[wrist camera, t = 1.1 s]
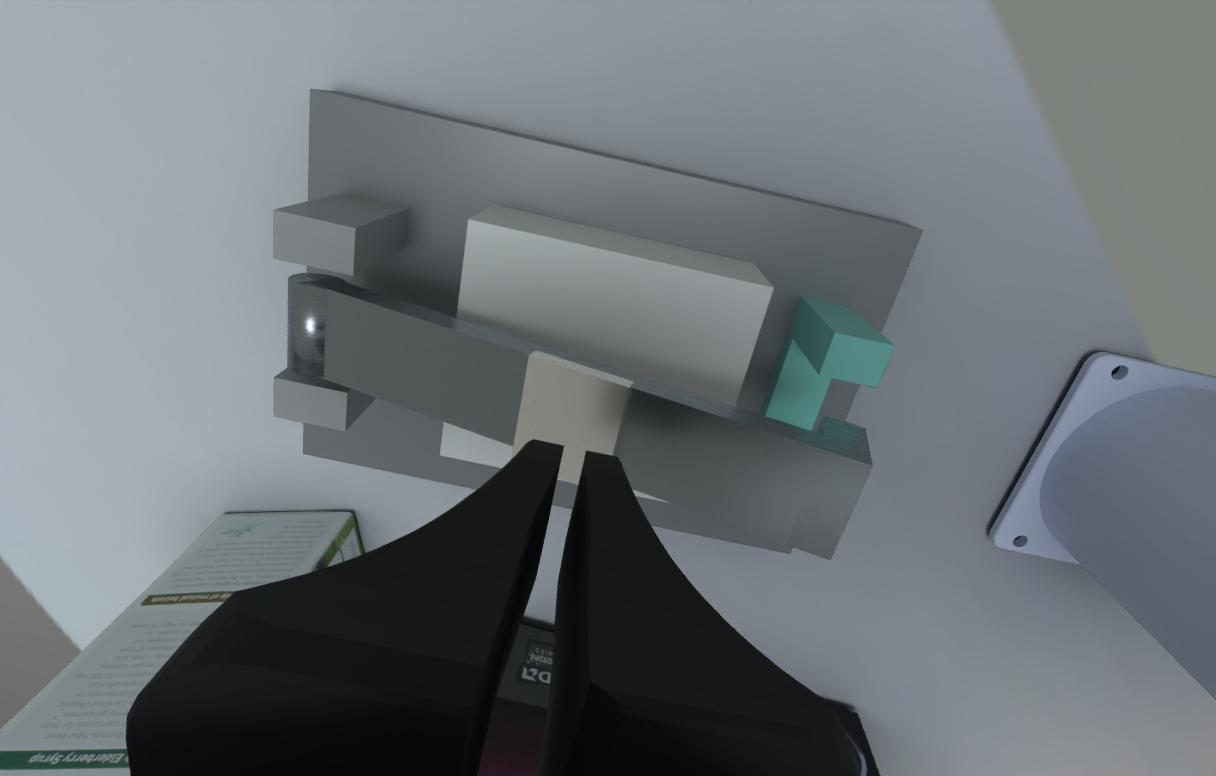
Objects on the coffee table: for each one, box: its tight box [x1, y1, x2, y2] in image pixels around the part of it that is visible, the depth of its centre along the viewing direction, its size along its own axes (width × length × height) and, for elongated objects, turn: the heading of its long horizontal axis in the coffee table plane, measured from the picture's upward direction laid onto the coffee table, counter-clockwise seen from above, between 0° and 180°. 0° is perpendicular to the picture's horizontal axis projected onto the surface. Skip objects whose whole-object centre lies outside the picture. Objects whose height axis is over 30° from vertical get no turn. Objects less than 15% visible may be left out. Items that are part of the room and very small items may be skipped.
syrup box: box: [0, 511, 363, 776], centre depth 20 cm, size 6×6×14 cm
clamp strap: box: [287, 273, 873, 560], centre depth 16 cm, size 15×3×2 cm, turn 78°
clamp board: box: [273, 89, 923, 554], centre depth 19 cm, size 18×12×5 cm, turn 78°
